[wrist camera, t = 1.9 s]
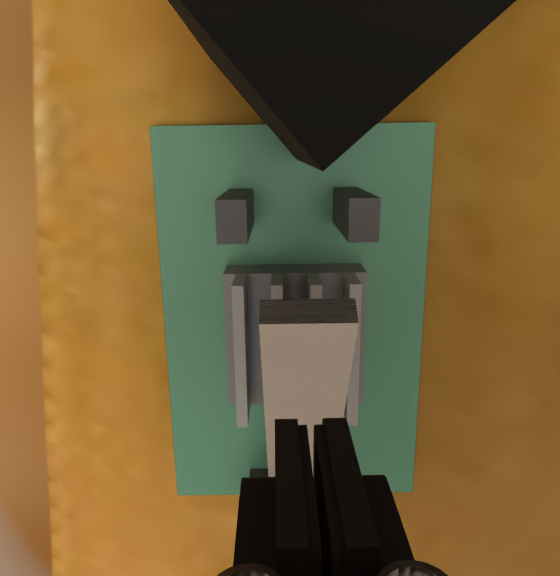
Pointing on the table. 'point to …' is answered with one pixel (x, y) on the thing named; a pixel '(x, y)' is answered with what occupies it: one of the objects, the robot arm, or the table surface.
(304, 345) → the grey long flat bar
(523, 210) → the table surface
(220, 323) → the board
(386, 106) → the electrical component
